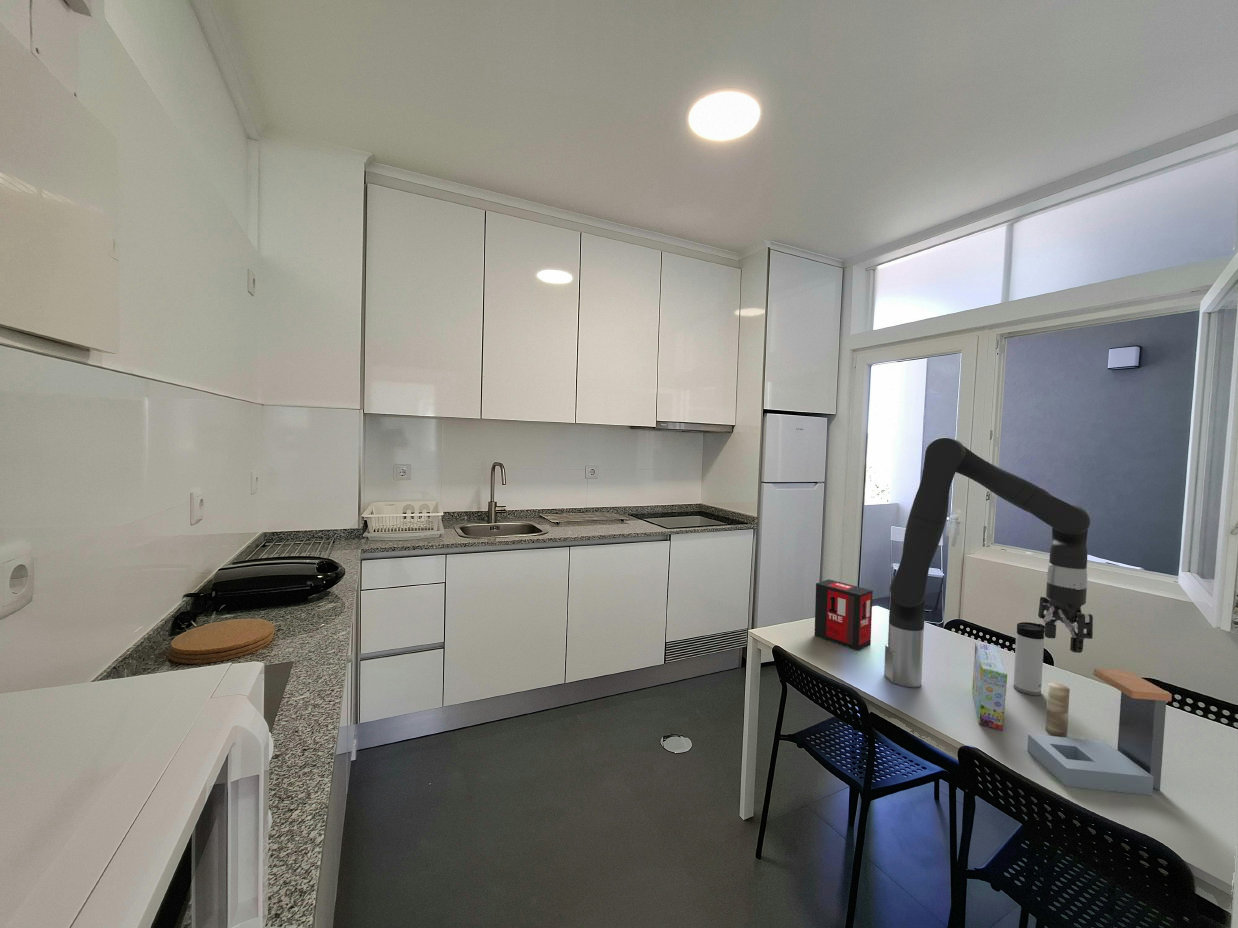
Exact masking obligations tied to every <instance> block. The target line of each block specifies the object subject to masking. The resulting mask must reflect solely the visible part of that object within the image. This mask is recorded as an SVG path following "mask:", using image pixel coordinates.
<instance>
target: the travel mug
mask: <svg viewBox="0 0 1238 928" xmlns="http://www.w3.org/2000/svg"><path fill="white" fill-rule="evenodd" d="M1044 630H1045V624H1042V623H1036V622H1035V623H1034V622H1028V621H1026V622H1025V621H1024V622H1018V623H1016V631H1015V632H1016V633H1015V648H1014V649H1015V650H1014V651H1015V653H1014V669H1013V671H1014V672H1013V685H1012V687H1013V688H1014V689H1015V690H1016V691H1018V692H1020V693H1023V694H1025V695H1030V696H1039V695H1042V682H1043V667H1044V650H1045V649H1044V647H1045V633H1044Z"/></svg>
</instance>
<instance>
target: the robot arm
mask: <svg viewBox="0 0 1238 928" xmlns="http://www.w3.org/2000/svg"><path fill="white" fill-rule="evenodd" d="M955 474H959V475H961V476H964V477H966V478H968V479H970V480H972V481H974V482H976V483H978V484H979V485H981V486H982V487H984V488H985V489H987V490H988V491H990V492H992V493H993V494H995V495H996V496H997V497H999V498H1000V499H1003V500H1005V501H1006V502H1007V503H1010V504H1011V505H1013V506H1015V507H1017V508H1019V509H1021V510H1022V511H1024V512H1026V513H1029V514H1031V515H1033V516H1034V517H1036V518H1037V519H1039V520H1040V521H1041V522H1044V523H1045V524H1046V525H1048V526H1049V527H1051V544H1050V549H1049V559H1048V560H1049V561H1048V562H1049V563H1048V568H1047V572H1046V573H1047V574H1046V590H1045V591H1046V592H1045V596H1040V598H1039V607H1038V616H1037V617H1038V618H1039V619H1042V622H1043V623H1044V626H1045V628H1044V638H1047V639H1056V638H1057V637H1056V636H1057V623H1058V622H1059V621H1060V622H1061V623H1062V624H1064V626H1065V628H1066V629H1068V631H1069V633H1070V635H1071V636H1070V644H1069V645H1070V647H1069V650H1070V652H1072V653H1076V654H1077V653H1078V654H1080V653H1082V652H1083V651H1084V640H1085V639H1086V640H1087V639H1088V640H1090V639H1091V640H1093V634H1094V633H1093V627H1094V626H1093V625H1094V622H1093V621H1094V620H1093V619H1094V617H1093V615H1092V613H1091V614H1090V613H1084V612H1083V611H1082V606H1084V605H1086V603H1087V592H1088V591H1087V589H1088V569H1087V568H1088V548H1087V541H1088V534H1089V533H1088V531H1089V528H1090V526H1091V518H1090V516H1089V515H1090V514H1088V512H1087V511H1086V509H1085V508H1083V507H1081V506H1079V505H1076V504H1071V503H1068V502H1066V501H1064V500H1062V499H1060V498H1058V497H1056V496H1055V495H1052V494H1051V493H1049V492H1048V491H1047V490H1045V488H1042V487H1040V486H1038V485H1036V484H1034V483H1033V482H1030V481H1028V480H1027V479H1024V478H1023V477H1020V476H1018V475H1016V474H1014V473H1012V472H1010V471H1007V470H1006V469H1002V468H1000V467H998V466H996V465H995V464H993V463H990V462H988V461H987V460H985V459H984V458H982V457H980V456H978V455H977V454H976V453H974V452H973V451H972V450H970V449H969V448H968V447H966V446H965V445H964V444H963V443H962V442H961V441H959V440H958V439H955V438H952V437H938V438H936V439H933V440H932V441H930V443H929V444H928V445H927V447H926V449H925V453H924V462H923V468H922V474H921V480H920V483H919V487H918V488H917V491H916V494H915V496H914V499H913V502H912V506H911V508H910V512H909V515H908V519H907V522H906V526H905V529H904V530H905V531H904V536H903V537H904V538H903V546H902V553H901V559H900V562H899V565H898V568H897V571H896V573H895V574H894V575H893V576H892V578H891V581H890V584H889V585H890V586H889V592H890V594H889V595H890V597H889V598H890V599H889V610H888V611H889V612H888V635H887V636H888V638H887V642H888V643H887V644H885V646H884V670H883V674H884V675H885V677H886V678H887V679H888V680H889V682H890V683H891V684H896V685H899V686H902V687H906V688H919V687H921V686H922V683H923V682H922V681H923V661H924V659H923V657H924V656H923V655H924V635H925V634H924V631H925V630H924V629H925V617H926V616H925V615H926V614H925V608H926V594H927V593H926V592H927V591H926V589H927V583H928V577H929V576H928V575H929V572H930V568H931V564H932V561H933V559H934V557H935V555H936V552H937V549H938V547H939V545H940V542H941V539H942V536H943V533H944V530H945V526H946V522H947V518H948V512H949V500H950V490H951V486H952V482H953V480H954V477H955ZM1045 611H1046V613H1045ZM1085 630H1086V631H1085ZM1076 631H1077V632H1076Z"/></svg>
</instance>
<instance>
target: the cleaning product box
mask: <svg viewBox="0 0 1238 928" xmlns="http://www.w3.org/2000/svg"><path fill="white" fill-rule="evenodd" d="M814 603H815V605H814V606H815V608H814V637H817V638H821V639H823V640H825V641H829V642H831V643H834V644H836V645H839V646H842V647H845V648H848V649H851V650H853V651H856V652H860V651H862V650H863V649H865V648H867V647H869V646H871V644H872V643H871V642H872V640H871V639H872V618H873V617H872V615H873V589H868V588H865V587H861V586H857V585H853V584H848V583H845V582H841V581H837V580H832V579H826V580H821V581H819V582H817V583H815V601H814Z"/></svg>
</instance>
